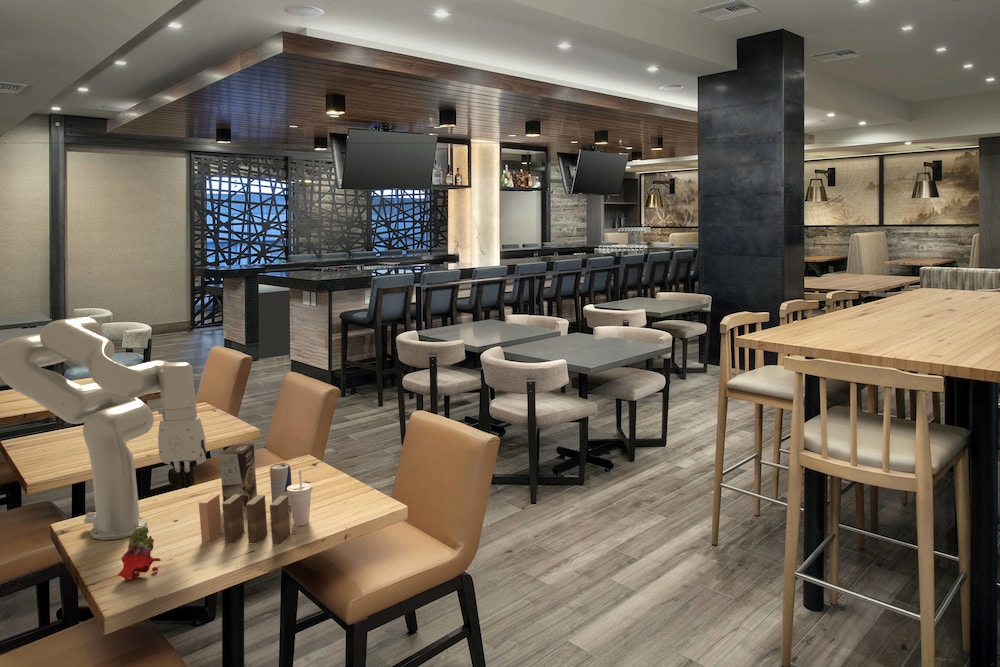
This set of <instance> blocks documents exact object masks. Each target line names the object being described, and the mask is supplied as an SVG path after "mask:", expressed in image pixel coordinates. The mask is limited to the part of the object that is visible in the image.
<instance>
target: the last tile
mask: <svg viewBox="0 0 1000 667" xmlns="http://www.w3.org/2000/svg"><path fill="white" fill-rule="evenodd" d="M269 510H270V512H269V513H270V515H269V516H270V527H271V528H270V530H271V543H272V544H281V543H282V542H283V541H284V540H285V541H286V540H287V538H288V537H290V535H291V521H290V520H291V519H290V510H289V501H288V496H279V497H278V498H277V499H276V500H275V501H274V502H273V503H272V502H271V503H270V504H269ZM285 541H284V542H285ZM284 542H283V543H284ZM283 543H282V544H283ZM272 544H271V545H272ZM282 544H281V545H282Z"/></svg>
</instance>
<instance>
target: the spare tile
mask: <svg viewBox="0 0 1000 667" xmlns="http://www.w3.org/2000/svg"><path fill="white" fill-rule="evenodd" d="M220 498H221V497H220V493H211V494H209V495H208V496H206V497H204V498H203V499H202V500H201V501H199V502H198V511H199V522H200V535H201V536H200V537H201V543H211V542H212V541H213V540H215V538H217V537H218V536H219V535H220V534H221V532H222V533H223V526H222V513H221V512H222V510H221V499H220ZM216 536H217V537H216ZM210 541H211V542H210Z"/></svg>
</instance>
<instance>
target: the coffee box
mask: <svg viewBox="0 0 1000 667" xmlns="http://www.w3.org/2000/svg"><path fill="white" fill-rule="evenodd" d="M254 445H255V444H254V443H243V444H241V443H240V444H232V445H230V446H228V447H227V448H225V449H224V450H223V451H222V452H220V453H219V464H220V475H221V477H220V479H221V490H222V491H221V492H222V493H221V494H222V503H224V502H225V501H226V500H228V499H229V498H230V497H232V496H233V495H234V494H238V495H242V502H243V511H246V504H247V503H248V502H249V501H250V500H252V499H253V498H254V497H255V496H257V495H258V491H257V490H258V489H257V475H256V461H255V459H256V458H255V446H254Z"/></svg>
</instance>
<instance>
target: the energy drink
mask: <svg viewBox="0 0 1000 667" xmlns="http://www.w3.org/2000/svg"><path fill="white" fill-rule="evenodd" d="M291 469H292V468H291V466H290V464H289V463H287V462H285V463H284V462H279V463H276V464H273V465H271V466H270V469H269V474H270V475H269V476H270V491H271V503H273V502H274V501H275V500H276V499H277V498H278V497H279V496H288V501H289V511H290V510H291V505H290V500H289V495H288V493H287V487H288V486H290V485H293V484H292V483H293V482H292V470H291Z"/></svg>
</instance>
